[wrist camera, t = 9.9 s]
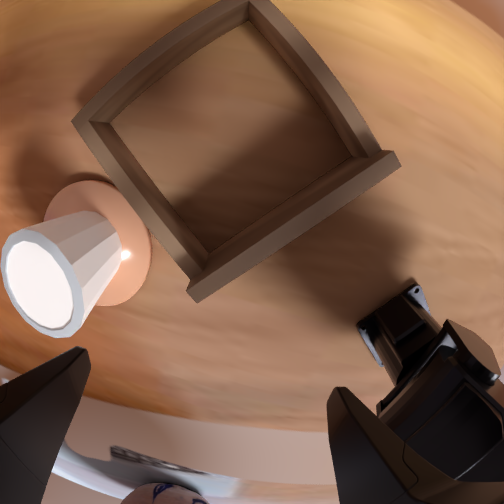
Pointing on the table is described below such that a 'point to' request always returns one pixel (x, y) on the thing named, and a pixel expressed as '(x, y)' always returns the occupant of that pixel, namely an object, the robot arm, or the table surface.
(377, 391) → the table surface
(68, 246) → the white cup
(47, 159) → the table surface
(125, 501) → the ceramic pitcher
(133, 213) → the terracotta saucer
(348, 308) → the table surface
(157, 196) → the brown wooden square tray
